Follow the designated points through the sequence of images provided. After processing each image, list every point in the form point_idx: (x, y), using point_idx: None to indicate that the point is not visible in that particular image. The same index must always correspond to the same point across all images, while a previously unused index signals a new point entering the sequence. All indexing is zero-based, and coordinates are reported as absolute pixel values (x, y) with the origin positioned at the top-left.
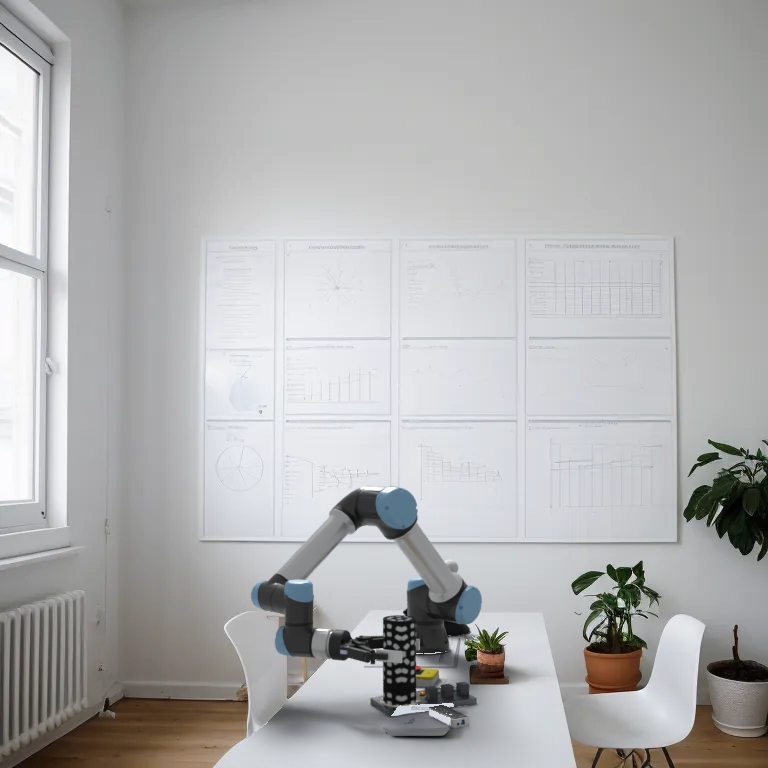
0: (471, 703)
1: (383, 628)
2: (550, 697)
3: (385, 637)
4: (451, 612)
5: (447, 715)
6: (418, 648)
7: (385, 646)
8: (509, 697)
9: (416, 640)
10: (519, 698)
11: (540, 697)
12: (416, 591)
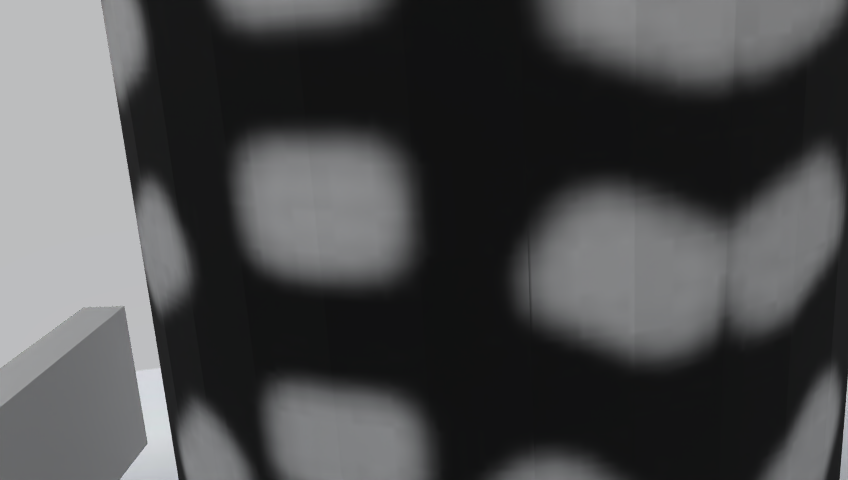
0: None
1: (793, 47)
2: (153, 375)
3: (845, 255)
4: None
5: None
6: (142, 422)
7: (831, 464)
8: (142, 461)
9: (108, 333)
10: (163, 434)
11: (151, 393)
12: None
